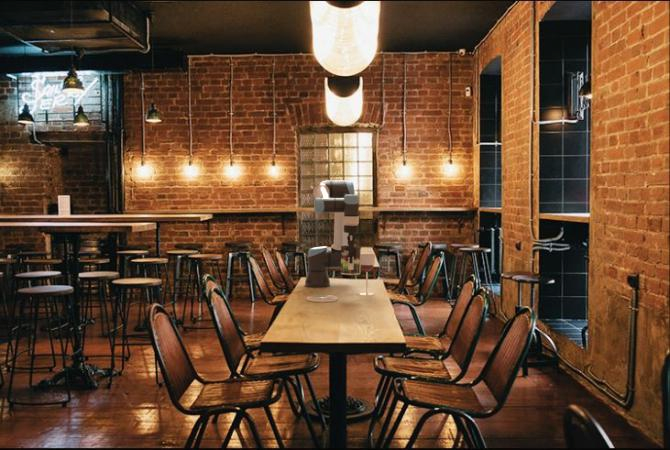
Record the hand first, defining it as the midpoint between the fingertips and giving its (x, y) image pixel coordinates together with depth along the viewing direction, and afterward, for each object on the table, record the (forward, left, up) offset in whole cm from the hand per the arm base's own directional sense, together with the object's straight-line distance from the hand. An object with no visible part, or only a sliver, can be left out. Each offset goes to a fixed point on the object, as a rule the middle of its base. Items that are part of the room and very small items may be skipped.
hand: (350, 268), depth 305 cm
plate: (-7, -15, -18) cm, 24 cm away
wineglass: (-27, +9, -18) cm, 33 cm away
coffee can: (0, 0, -3) cm, 3 cm away
